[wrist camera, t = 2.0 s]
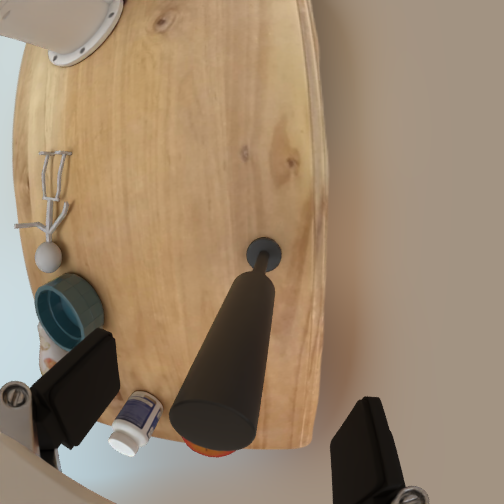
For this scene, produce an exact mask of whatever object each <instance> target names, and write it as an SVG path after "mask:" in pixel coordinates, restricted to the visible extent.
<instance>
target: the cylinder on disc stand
mask: <svg viewBox="0 0 504 504" xmlns="http://www.w3.org/2000/svg"><path fill="white" fill-rule="evenodd" d="M247 261H248V263H249V264H250V266H251V267H252V268H253V271H250V272H245V273H242V274H241V275H239V276H238V277H237V278H236V279H235V280H234V282H233V284H232V286H231V288H230V290H229V292H228V294H227V296H226V298H225V300H224V302H223V304H222V306H221V308H220V310H219V312H218V314H217V316H216V318H215V320H214V322H213V324H212V326H211V328H210V330H209V332H208V334H207V336H206V338H205V340H204V342H203V344H202V346H201V348H200V350H199V352H198V354H197V356H196V358H195V360H194V362H193V364H192V366H191V368H190V370H189V372H188V375H187V377H186V379H185V381H184V383H183V385H182V387H181V389H180V391H179V393H178V395H177V397H176V399H175V401H174V403H173V405H172V407H171V409H170V412H169V418H170V422H171V424H172V426H173V428H174V429H175V430H176V431H177V432H178V433H179V434H180V435H181V436H182V437H183V438H185V439H186V440H188V441H190V442H191V443H193V444H196V445H198V446H200V447H203V448H207V449H211V450H216V451H234V450H239V449H242V448H245V447H247V446H248V445H249V444H251V443H252V441H253V440H254V438H255V436H256V430H257V424H258V417H259V411H260V404H261V397H262V390H263V383H264V376H265V369H266V362H267V354H268V347H269V339H270V331H271V323H272V315H273V307H274V298H275V288H274V285H273V283H272V281H271V280H270V279H269V278H268V277H267V276H266V275H265V273H266V272H269V271H272V270H273V269H275V268H276V267H277V266H278V265H279V263H280V261H281V249H280V247H279V245H278V244H277V243H276V242H275V241H274V240H272V239H270V238H266V237H262V238H258V239H256V240H254V241H253V242H252V243H251V244H250V245H249V247H248V249H247Z"/></svg>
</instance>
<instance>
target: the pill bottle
mask: <svg viewBox="0 0 504 504" xmlns="http://www.w3.org/2000/svg"><path fill="white" fill-rule="evenodd" d="M162 413H163V406H162V404H161V403H160V402H159V400H158V399H156V398H155V397H154V396H152V395H151V394H149V393H146V392H143V391H136V392H134V393H132V395H131V396H130V397H129V399H128V400H127V402H126V404H125V405H124V407H123V408H122V410H121V411H120V413H119V414H118V416H117V417H116V419H115V420H114V422H113V424H112V429H113V431H114V432H113V433H112V434H111V436H110V438H109V439H108V442H109V444H110V445H111V446H112V447H113V448H114V449H115V450H117V451H118V452H120V453H122V454H124V455H126V456H130V457H133V456H135V454H136V453H137V451H138V447H143V446H145V445H146V444H147V443H148V441H149V439H150V437H151V435H152V433H153V431H154V429H155V427H156V425H157V423H158V421H159V419H160V417H161V415H162Z"/></svg>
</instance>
